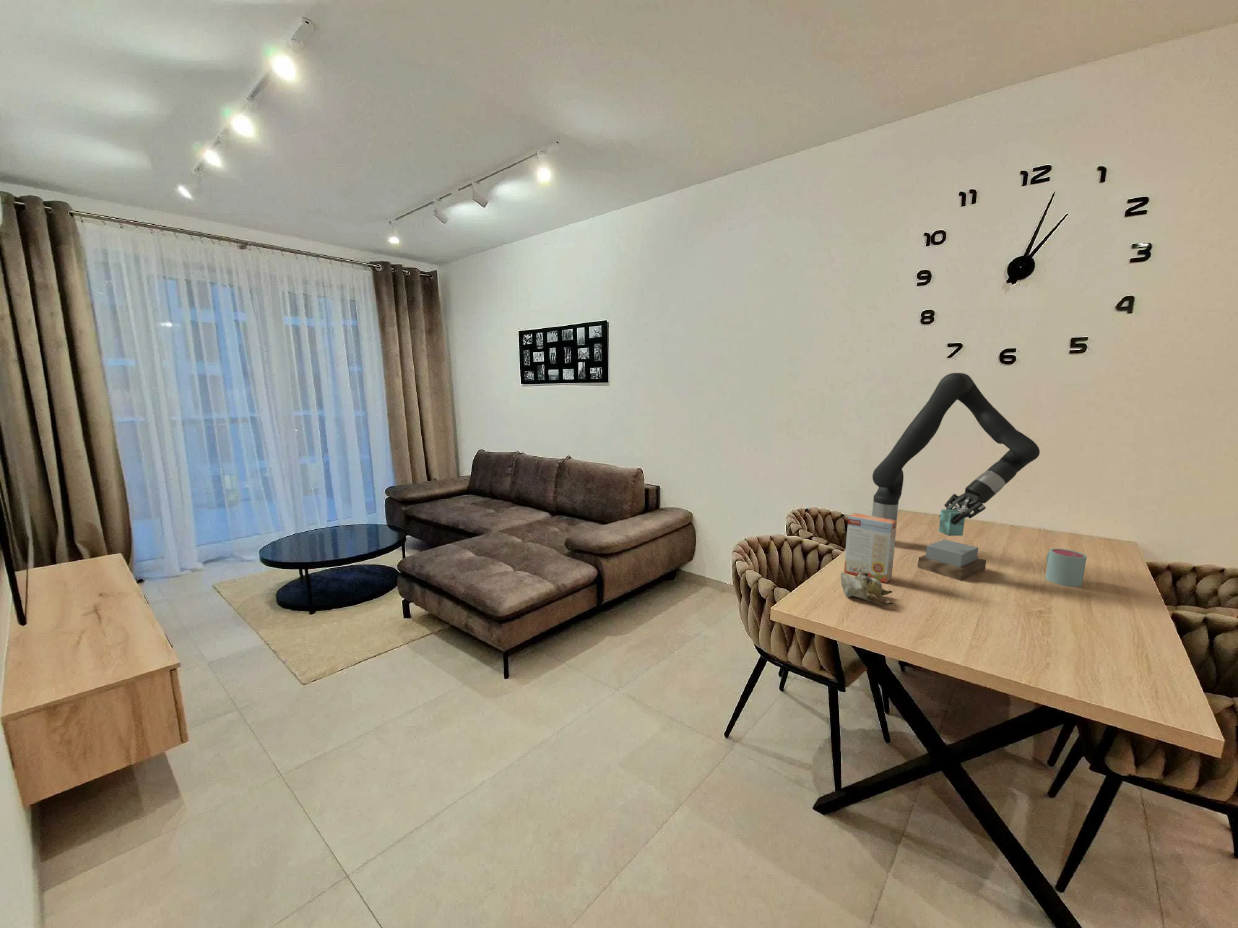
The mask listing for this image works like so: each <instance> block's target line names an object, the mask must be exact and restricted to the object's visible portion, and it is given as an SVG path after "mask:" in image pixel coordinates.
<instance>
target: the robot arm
mask: <svg viewBox="0 0 1238 928" xmlns="http://www.w3.org/2000/svg"><path fill="white" fill-rule="evenodd" d="M956 401H959V402H960V403H962V404H963V406H965V407H966V408H968V410H969V411H970V412H971V414H972V415H973V416H974V419H976V421H977V423H978V424H979V426H980V427H981V428H982V429H983V431H985V432H986V434H987V435H988V436H989V437H990V438H991V439H992V440H993V441H994V442H996V443H997V444H1000V445H1004V446H1005V447H1006V448H1007V449H1009V450H1008V451H1006V453H1005V454H1004V455H1003V456H1001V457H1000V459H999V460H997V461H996V462H995V463H993V464H992V465H991V466H990V467H988V469H987V470H985V471H984V472H983V473H981V474H980V475H978V476H977V477H976V478H975V479H974V480H972V482H970V483H969V484H968V485H967V486H966V487H965V489H964V490H965V491H964V493H963V494H960V495H957V494H956V493H953V494H952V495H951V496H950V497H949V499H948V500H947V501H945V504H944V505H943V506H944V507H945V509H955V510H958V511H960V512H959V513H958V514H956V515H955V516H954V517H953V518H952V519H951V520H950V522H951V523H952V524H954V525H956V524H957V523H958V522H960V521H961V520H962V519H963V518H965V519H966V518H968V519H972V518H974V517H975V516H976V515H977V516H978V514H981V512H983V511H985V510H986V508H987V507H986V505H985V504H987V502H988V501H990V500H991V499H992V498H994V496H995V495H997V493H999V492H1000V491H1001V490H1002V489H1003V488H1004V487H1005V485H1007V484H1008V483H1009V482H1011V481H1012V479H1014V478H1015V476H1017V473H1018V472H1020V471H1021V470H1023V468H1025V467H1026V466H1028V465H1029V464H1030V463H1032V462H1033V461H1035V460H1036V459H1038V457H1039V456H1040V454H1041V453H1040V452H1041V451H1040V447H1039V446H1038V445H1037V443H1036V442H1035V441H1033V439H1031V438H1030V437H1029V436H1027V435H1025V434H1024V433H1022V432H1021V431H1019V430H1018V429H1016V428H1015V426H1013V424H1012V423H1011V422H1009V420H1008V419H1006V417H1005V416H1004V415H1002V414H1001V412H999V411H998V409H996V408H995V407H994V406H993V405H992V404H991V403H990V402H989V400H988V399H987V398H986V397H985V395H984V394H983V392H981V390H980V389H979V387H978V386H977V385H976V383H975V381H974V380H973V378H972V377H971V376H970V375H968V374H967V373H964V372H951V373H949V374H946V375H945V376H943V377H942V378H941V379H940V381H939V382H938V384H937V386H936V388H935V389H934V391H933V392H932V394H931V396H930V397H929V399H928V401H926V403H925V405H924V406H923V407H922V408H921V410H919V412H918V413H917V415H916V416H915V417H914V419H912V421H911V422H910V423H909V425H908V426H907V428H905V430H904V432H903V433H902V435H901V436H900V437H899V439H898V440H897V442H896V443H895V445H894V446H893V448H892V449H891V450H890V452H889V453H888V455H887V456H886V457H885V458H883V460H882V461H881V462H880V463H879V464H878V465H877V467H875V469H873V472H872V477H871V478H872V481H873V483H874V484H875V486H877V491H876V492H875V493H874V495H873V502H872V511H871V512H872V513H871V516H874V517H880V518H885V519H891V520H898V513H899V511H898V510H899V504H900V503H899V501H900V499H901V496H902V492H903V486H904V471H903V468H904V467H905V466H906V465H907V464H908V462H909V461H910V460H911V459H913V458H914V457H915V456H916V455H918V454H919V453H920V452H921V451H922V450H924V449H925V448H926V446H927V445H928V444H929V443H930V442H931V440H932V439H933V437H935V435H936V433H937V432H938V430H939V428H940V426H941V425H942V424H941V423H942V421H943V419H944V416H945V415H946V414H947V412H948V410H949V409H951V407H952V406H953V405H954V403H955V402H956ZM940 515H941V513H940V514H939V516H938V517H939V518H940Z"/></svg>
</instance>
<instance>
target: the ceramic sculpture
mask: <svg viewBox="0 0 1238 928" xmlns="http://www.w3.org/2000/svg"><path fill="white" fill-rule="evenodd" d="M840 584H841V585H840V586H841V588H842V590H843V593H844V595H845V596H846V597H847V598H851V597H852V596H853V597H857V598H859V599H861V600H864V601H868V602H872V603H874V604H876V605H880V606H881V605H882V606H886V605H894V602H893V601H890V600H889V599H888V598H887V597H885V596H887V595H890V594H892V593H893V591H892V590H885V589H884V588H883V586H882V582H880V581H878V580H877V579H876V578H872V577H869V576H868V574H867V573H861V574H859V575H858V576H857V575H855V576H852V575H851V574H849V573H845V572H841V573H840Z"/></svg>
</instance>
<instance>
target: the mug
mask: <svg viewBox="0 0 1238 928" xmlns="http://www.w3.org/2000/svg"><path fill="white" fill-rule="evenodd" d="M1087 557H1088V556H1087V555H1086V554H1085V553H1082V552H1081V551H1080V552H1079V551H1076V550H1071V549H1065V548H1050V549H1049V551H1048V552H1047V555H1046V564H1047V565H1046V572H1045V580H1047V581H1049V582H1050V583H1053V584H1056V585H1057V584H1058V585H1060V586H1065V587H1072V588H1073V587H1075V588H1078V587H1082V586H1083V581H1084V576H1085V570H1086V564H1087Z"/></svg>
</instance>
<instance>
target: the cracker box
mask: <svg viewBox="0 0 1238 928" xmlns="http://www.w3.org/2000/svg"><path fill="white" fill-rule="evenodd" d="M897 520H898V519H897ZM897 520H891V519H885V518H880V517H874V516H872V515H867V514H861V513H856V512H854V513H853V514H850V515H848V519H847V530H846V542H845V555H844V565H843V566H844V567H843V573H844V574H848V575H854V576H858V575H859V574H861V573H867V574H868V576H869V577H872V578H876V579H877V580H878V581H879V582H880V583H885V584H886V583H888V582H889V581H890V580H892V578H893V577H892V576H893V569H894V568H893V567H894V566H893V565H894V557H895V546H896V538H897V537H896V536H897V535H896V534H897V525H898V521H897Z"/></svg>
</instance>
